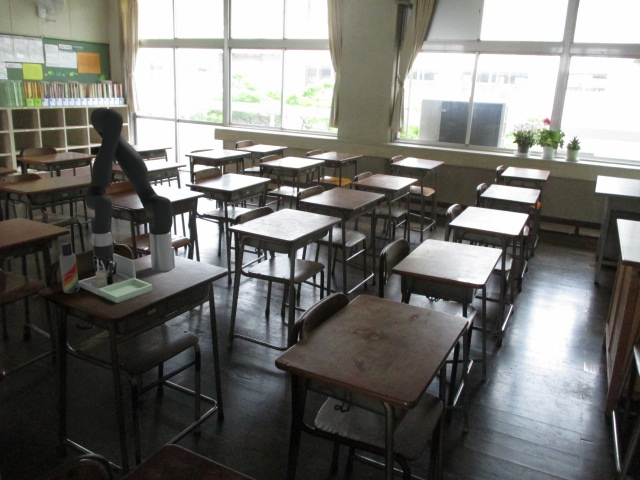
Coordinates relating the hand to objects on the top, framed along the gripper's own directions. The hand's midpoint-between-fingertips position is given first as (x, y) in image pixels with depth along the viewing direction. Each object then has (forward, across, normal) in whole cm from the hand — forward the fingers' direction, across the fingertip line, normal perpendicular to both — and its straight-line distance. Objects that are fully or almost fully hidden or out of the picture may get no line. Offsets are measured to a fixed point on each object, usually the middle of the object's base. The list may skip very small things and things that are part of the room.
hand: (106, 282), depth 209 cm
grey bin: (+1, 0, 0) cm, 1 cm away
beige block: (+1, 0, +1) cm, 1 cm away
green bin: (+1, -13, 0) cm, 13 cm away
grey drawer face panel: (+1, 0, -9) cm, 9 cm away
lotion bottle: (+2, +5, +12) cm, 13 cm away
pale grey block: (+1, -3, +5) cm, 6 cm away
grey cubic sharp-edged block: (+1, +3, -4) cm, 5 cm away
